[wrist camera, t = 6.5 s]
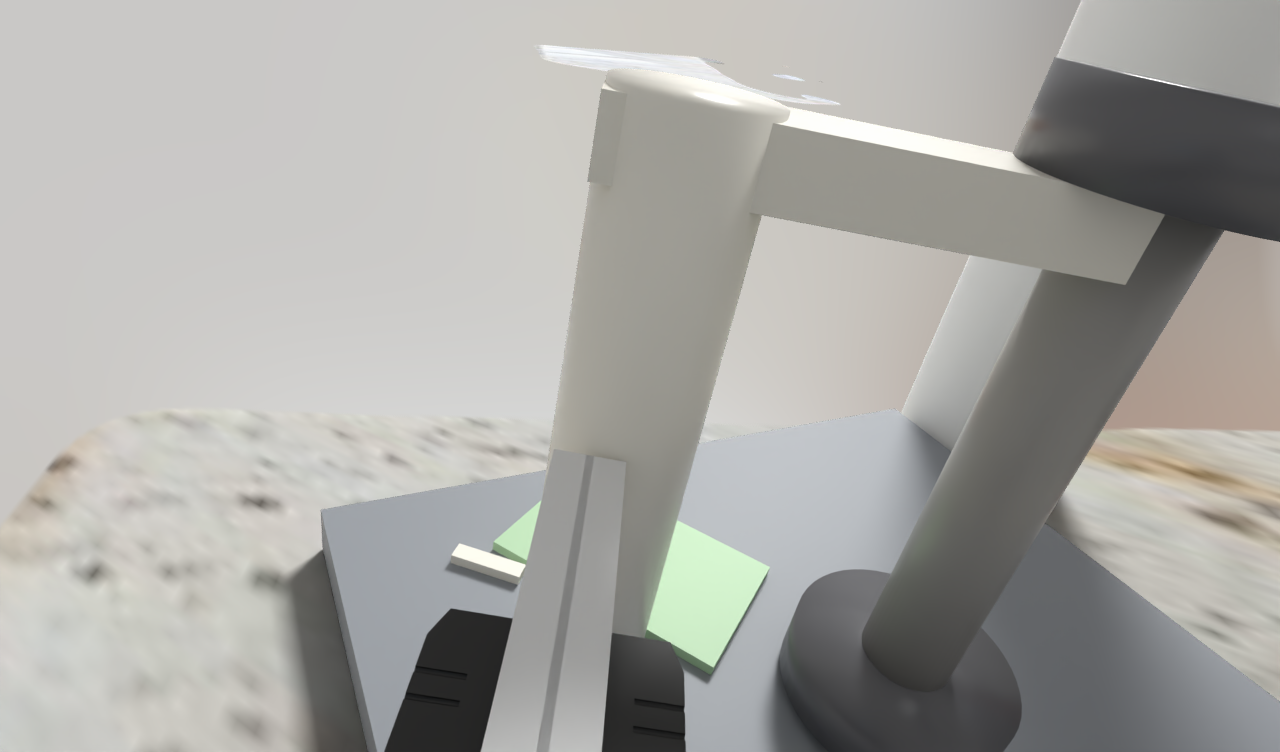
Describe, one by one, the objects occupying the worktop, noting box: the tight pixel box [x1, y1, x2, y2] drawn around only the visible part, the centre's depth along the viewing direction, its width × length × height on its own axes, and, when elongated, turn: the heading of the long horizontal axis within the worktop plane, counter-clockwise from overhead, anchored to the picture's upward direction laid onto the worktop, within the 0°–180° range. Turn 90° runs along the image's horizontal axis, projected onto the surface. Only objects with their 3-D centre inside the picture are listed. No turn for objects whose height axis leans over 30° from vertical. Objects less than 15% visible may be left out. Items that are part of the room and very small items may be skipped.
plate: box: [321, 409, 1280, 752], centre depth 19 cm, size 24×22×2 cm
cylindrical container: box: [901, 0, 1280, 452], centre depth 28 cm, size 7×7×25 cm
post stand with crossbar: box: [542, 57, 1280, 752], centre depth 15 cm, size 12×6×15 cm, turn 89°
